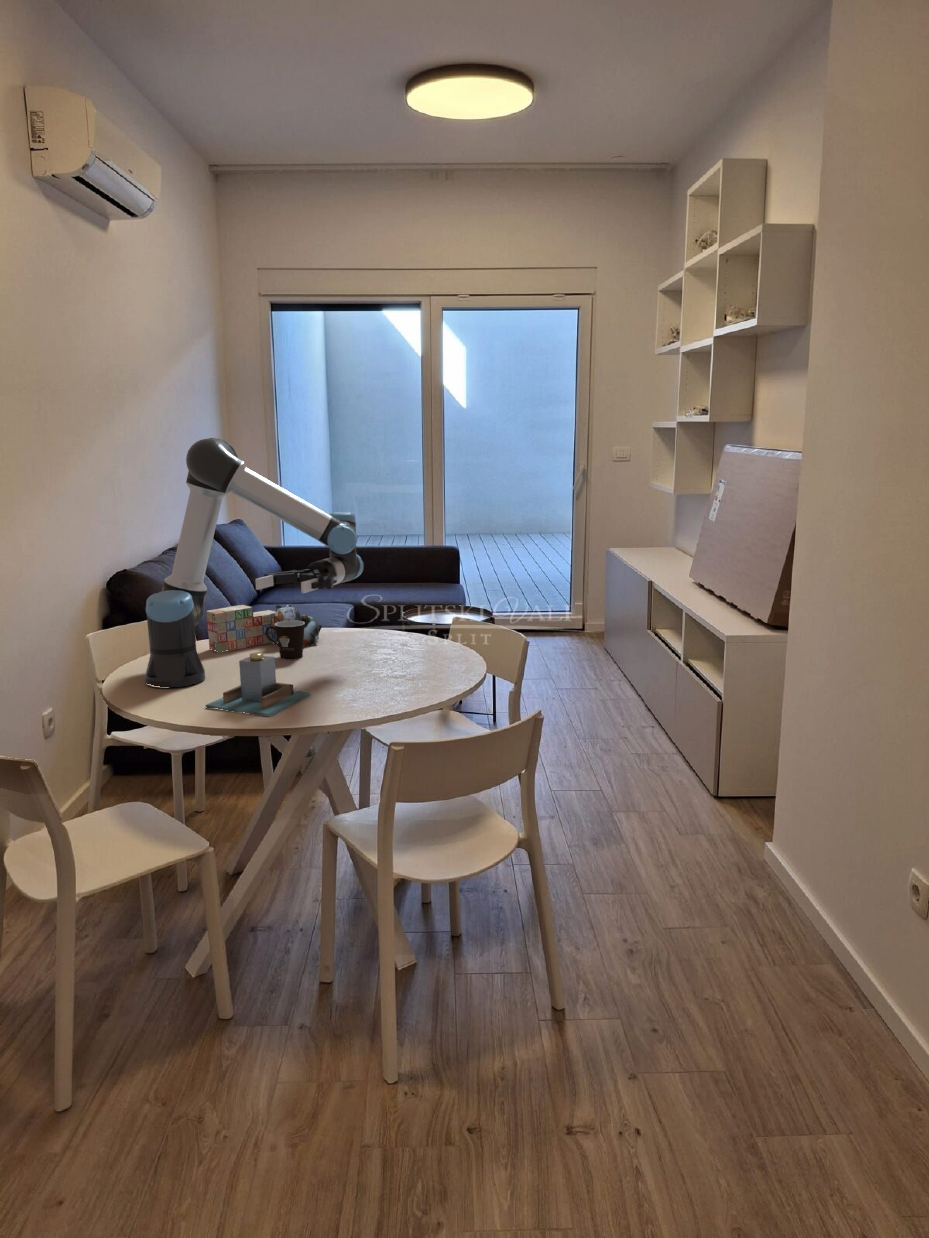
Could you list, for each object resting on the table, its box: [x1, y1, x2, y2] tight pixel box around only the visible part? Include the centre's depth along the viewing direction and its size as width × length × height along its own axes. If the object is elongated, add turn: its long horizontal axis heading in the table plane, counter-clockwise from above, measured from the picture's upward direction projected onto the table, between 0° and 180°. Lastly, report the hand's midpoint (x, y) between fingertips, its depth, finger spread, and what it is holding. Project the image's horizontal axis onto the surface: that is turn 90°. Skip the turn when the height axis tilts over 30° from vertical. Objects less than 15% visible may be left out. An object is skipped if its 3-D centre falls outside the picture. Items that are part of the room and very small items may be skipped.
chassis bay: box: [205, 682, 312, 718], centre depth 214 cm, size 18×18×3 cm
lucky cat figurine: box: [272, 604, 323, 647], centre depth 272 cm, size 15×12×14 cm
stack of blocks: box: [206, 604, 278, 653], centre depth 269 cm, size 21×6×12 cm, turn 132°
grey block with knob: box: [238, 652, 277, 703], centre depth 213 cm, size 6×6×11 cm
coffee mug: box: [266, 620, 305, 661], centre depth 256 cm, size 12×9×10 cm
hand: (279, 586), depth 218 cm, fingers open, 13 cm apart
